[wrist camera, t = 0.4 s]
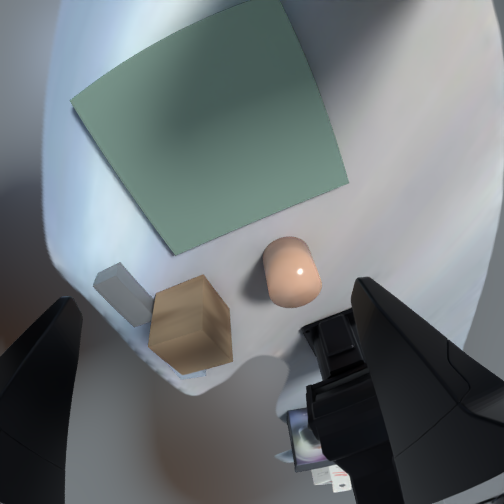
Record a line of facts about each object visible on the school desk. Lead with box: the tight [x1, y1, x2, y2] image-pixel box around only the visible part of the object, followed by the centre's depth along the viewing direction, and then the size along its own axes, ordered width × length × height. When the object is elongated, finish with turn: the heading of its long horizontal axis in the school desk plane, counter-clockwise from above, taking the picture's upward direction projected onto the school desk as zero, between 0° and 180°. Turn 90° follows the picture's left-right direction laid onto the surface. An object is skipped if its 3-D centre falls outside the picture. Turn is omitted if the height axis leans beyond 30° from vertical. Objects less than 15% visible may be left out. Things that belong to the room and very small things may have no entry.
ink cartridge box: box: [311, 465, 351, 492], centre depth 55 cm, size 9×5×15 cm, turn 46°
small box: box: [287, 408, 336, 472], centre depth 44 cm, size 11×6×10 cm, turn 94°
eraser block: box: [167, 363, 206, 379], centre depth 32 cm, size 4×3×3 cm
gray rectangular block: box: [93, 262, 155, 327], centre depth 26 cm, size 6×3×2 cm, turn 24°
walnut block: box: [148, 275, 233, 375], centre depth 26 cm, size 5×5×6 cm
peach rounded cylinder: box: [262, 237, 322, 308], centre depth 24 cm, size 4×4×4 cm
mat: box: [70, 0, 349, 256], centre depth 18 cm, size 14×14×1 cm
